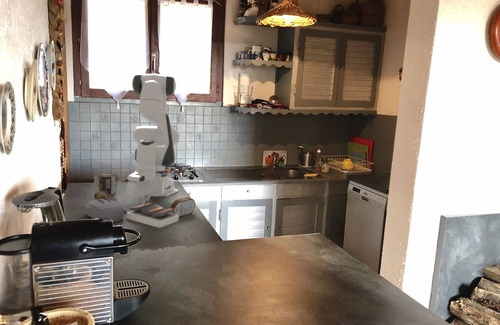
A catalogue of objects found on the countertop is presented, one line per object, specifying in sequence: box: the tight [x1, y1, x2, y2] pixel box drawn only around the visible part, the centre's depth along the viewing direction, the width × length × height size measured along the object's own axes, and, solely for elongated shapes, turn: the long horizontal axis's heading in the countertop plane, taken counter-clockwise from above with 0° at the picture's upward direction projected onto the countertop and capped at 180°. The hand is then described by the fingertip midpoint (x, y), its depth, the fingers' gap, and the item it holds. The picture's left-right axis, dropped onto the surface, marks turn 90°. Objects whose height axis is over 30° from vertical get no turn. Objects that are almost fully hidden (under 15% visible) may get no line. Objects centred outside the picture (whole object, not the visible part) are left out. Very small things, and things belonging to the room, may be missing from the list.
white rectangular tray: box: [124, 210, 180, 229], centre depth 192 cm, size 13×28×3 cm, turn 61°
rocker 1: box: [129, 202, 154, 211], centre depth 192 cm, size 10×5×2 cm, turn 151°
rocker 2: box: [141, 203, 165, 215], centre depth 189 cm, size 10×5×2 cm, turn 151°
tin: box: [169, 196, 196, 218], centre depth 200 cm, size 15×3×8 cm, turn 145°
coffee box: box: [93, 173, 118, 202], centre depth 205 cm, size 9×6×16 cm
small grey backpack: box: [84, 198, 125, 223], centre depth 188 cm, size 15×8×20 cm
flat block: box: [152, 208, 175, 216], centre depth 186 cm, size 10×5×2 cm, turn 151°
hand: (145, 204), depth 191 cm, fingers closed
